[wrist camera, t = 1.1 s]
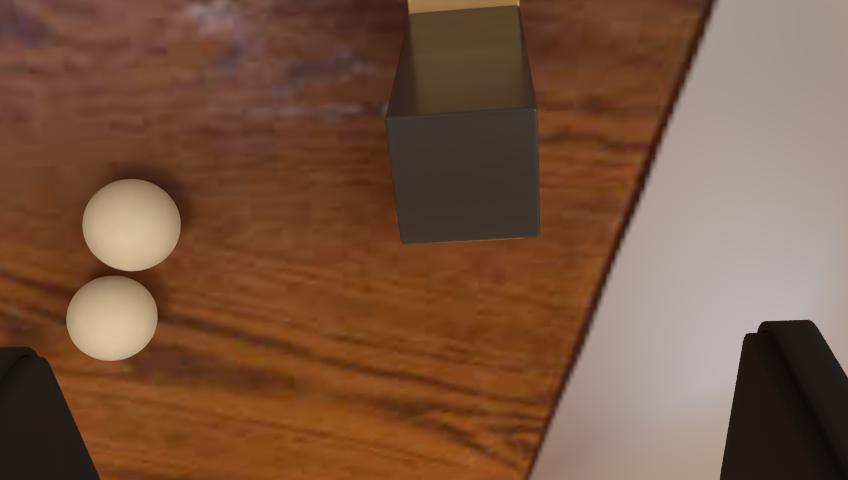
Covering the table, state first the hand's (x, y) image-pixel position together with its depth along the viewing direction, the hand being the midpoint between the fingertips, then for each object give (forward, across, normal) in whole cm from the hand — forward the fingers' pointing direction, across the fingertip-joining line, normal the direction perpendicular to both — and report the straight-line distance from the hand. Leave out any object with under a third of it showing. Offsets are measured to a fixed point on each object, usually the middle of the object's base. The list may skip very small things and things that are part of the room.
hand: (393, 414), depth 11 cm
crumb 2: (+15, +13, +9) cm, 22 cm away
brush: (+16, -1, 0) cm, 17 cm away
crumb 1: (+15, +11, +5) cm, 19 cm away
